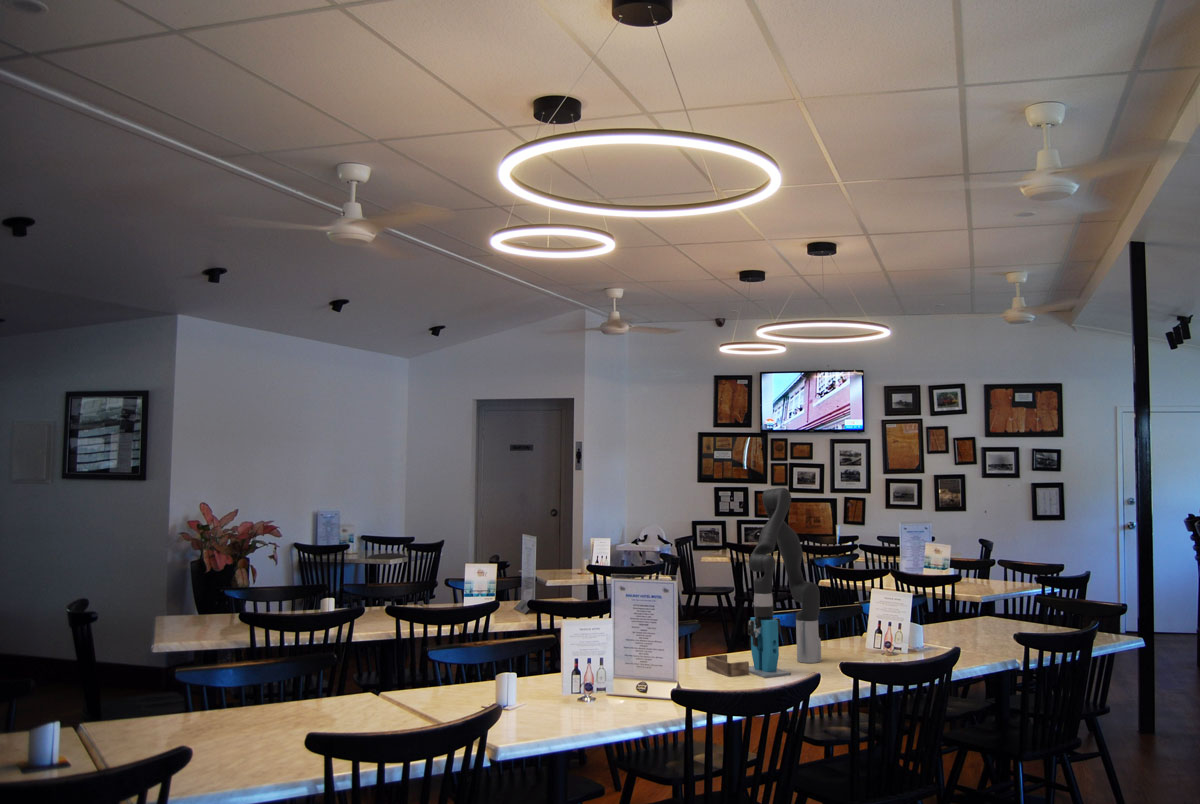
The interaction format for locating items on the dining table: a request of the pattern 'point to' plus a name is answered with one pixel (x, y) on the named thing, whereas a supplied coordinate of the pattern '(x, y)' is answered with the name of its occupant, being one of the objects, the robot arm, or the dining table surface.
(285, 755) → the dining table surface
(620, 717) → the dining table surface
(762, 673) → the slate pad
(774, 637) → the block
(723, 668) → the walnut stall
